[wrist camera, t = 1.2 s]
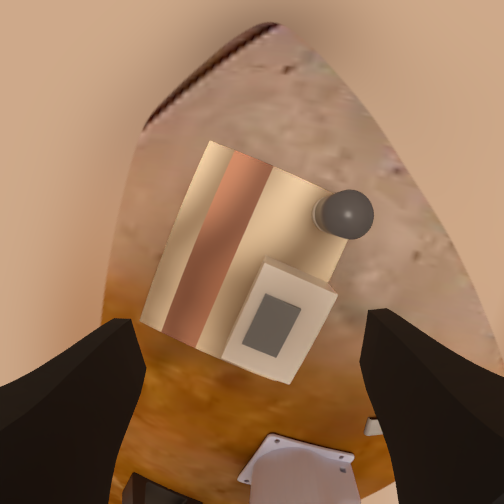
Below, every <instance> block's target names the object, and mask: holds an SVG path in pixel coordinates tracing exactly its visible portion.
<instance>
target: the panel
mask: <svg viewBox="0 0 504 504" xmlns="http://www.w3.org/2000/svg"><path fill="white" fill-rule="evenodd" d="M332 194H333V193H331V192H329V191H327V190H325V189H323V188H321V187H319V186H316V185H314V184H312V183H310V182H308V181H306V180H303V179H301V178H299V177H297V176H295V175H292V174H290V173H288V172H286V171H283V170H281V169H279V168H276V167H274V166H272V165H269V164H267V163H265V162H262V161H260V160H257V159H255V158H253V157H250V156H248V155H245V154H243V153H240V152H238V151H235V150H233V149H230V148H228V147H225V146H222V145H220V144H217V143H214V142H212V141H210V142H209V144H208V146H207V148H206V150H205V152H204V155H203V157H202V159H201V161H200V164H199V166H198V168H197V170H196V173H195V175H194V177H193V179H192V182H191V184H190V187H189V189H188V191H187V194H186V196H185V198H184V201H183V203H182V206H181V208H180V211H179V213H178V216H177V218H176V221H175V223H174V226H173V228H172V231H171V233H170V236H169V238H168V241H167V244H166V246H165V249H164V252H163V254H162V257H161V260H160V263H159V265H158V268H157V271H156V274H155V276H154V279H153V282H152V285H151V288H150V291H149V294H148V297H147V300H146V303H145V306H144V309H143V312H142V315H141V318H140V322H142V323H144V324H146V325H148V326H150V327H152V328H154V329H156V330H158V331H160V332H162V333H164V334H166V335H168V336H170V337H172V338H174V339H177V340H179V341H181V342H183V343H185V344H187V345H189V346H192V347H194V348H196V349H198V350H200V351H203V352H205V353H207V354H209V355H212V356H214V357H216V358H219V359H221V360H223V361H226V362H228V363H230V364H233V365H235V366H238V367H240V368H243V369H245V370H248V371H250V372H253V373H255V374H258V375H260V376H263V377H266V378H268V379H271V380H274V381H277V380H275V379H272V378H269V377H267V376H264V375H262V374H259V373H256V372H254V371H251V370H249V369H246V368H244V367H241V366H239V365H236V364H234V363H232V362H229V361H227V360H224V359H222V358H221V357H222V354H223V351H224V348H225V345H226V342H227V339H228V337H229V334H230V332H231V330H232V328H233V326H234V324H235V321H236V319H237V317H238V315H239V313H240V310H241V308H242V306H243V304H244V302H245V299H246V297H247V295H248V293H249V291H250V288H251V286H252V284H253V282H254V279H255V277H256V275H257V273H258V271H259V268H260V266H261V264H262V262H263V259H264V257H265V255H267V256H269V257H271V258H273V259H276V260H278V261H280V262H282V263H285V264H287V265H289V266H291V267H294V268H296V269H298V270H301V271H303V272H305V273H307V274H310V275H312V276H314V277H316V278H319V279H321V280H323V281H325V282H329V280H330V277H331V275H332V273H333V271H334V269H335V267H336V265H337V263H338V260H339V258H340V256H341V254H342V252H343V250H344V247H345V245H346V243H347V241H348V239H344V238H341V237H338V236H335V235H332V234H329V233H326V232H323V231H321V230H319V229H318V228H317V227H316V226H315V224H314V223H313V220H312V209H313V206H314V204H315V203H316V202H317V201H318V200H319V199H321V198H323V197H326V196H329V195H332Z"/></svg>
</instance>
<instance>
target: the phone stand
mask: <svg viewBox="0 0 504 504" xmlns="http://www.w3.org/2000/svg"><path fill="white" fill-rule="evenodd" d="M122 504H203V503H202V502H200V501H197V500H195V499H192V498H190V497H187V496H185V495H182V494H180V493H178V492H175V491H173V490H171V489H169V490H168V489H167V488H166V487H164V486H162V485H160V484H157V483H155V482H153V481H151V480H149V479H147V478H145V477H143V476H141V475H139V474H137V473H133V474H132V476H131V477H130V479H129V481H128V483H127V485H126V487H125V489H124V491H123V493H122Z"/></svg>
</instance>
